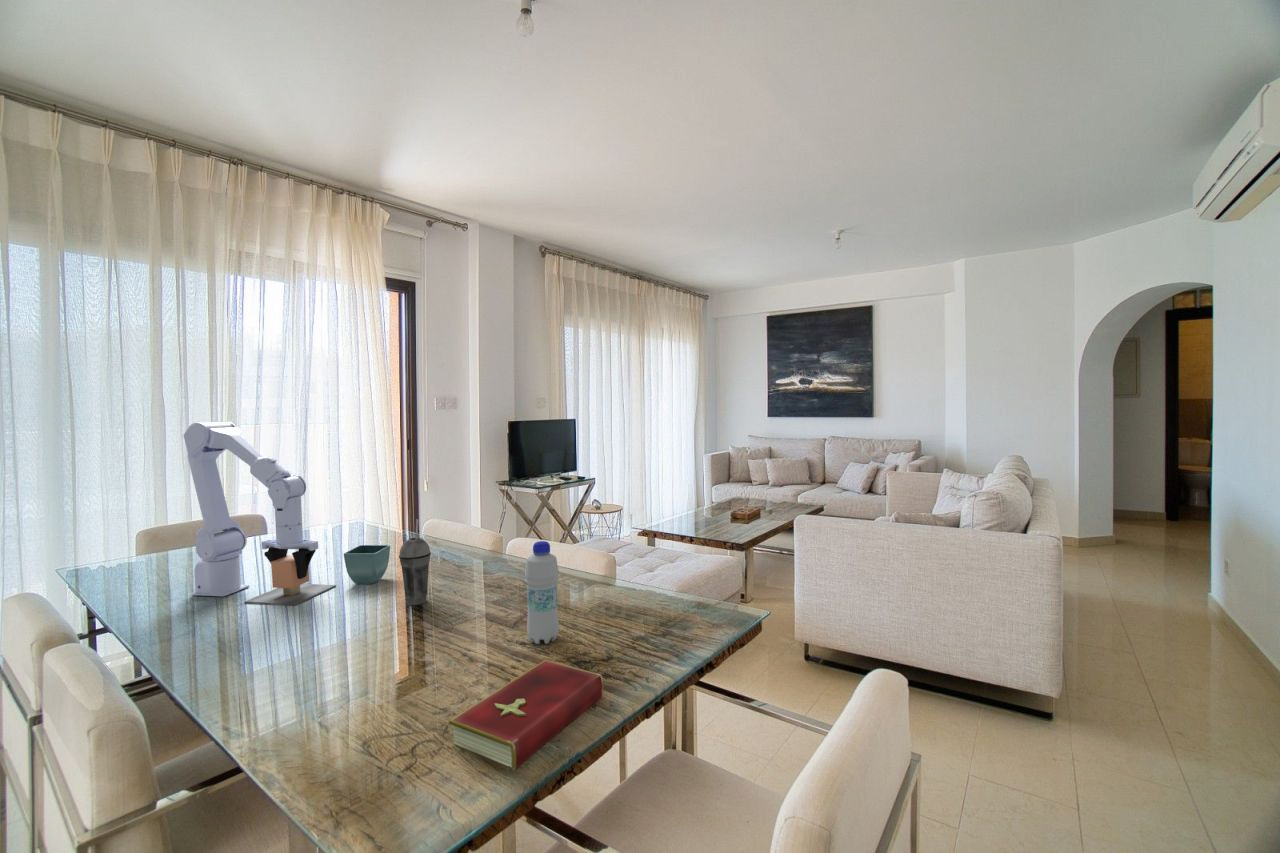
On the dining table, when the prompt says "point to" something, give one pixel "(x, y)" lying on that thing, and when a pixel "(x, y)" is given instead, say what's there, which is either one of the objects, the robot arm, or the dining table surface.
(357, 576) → the flower pot
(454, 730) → the hardcover book
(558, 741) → the dining table surface
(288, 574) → the block
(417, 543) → the beverage cup
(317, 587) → the post block
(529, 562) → the bottle
